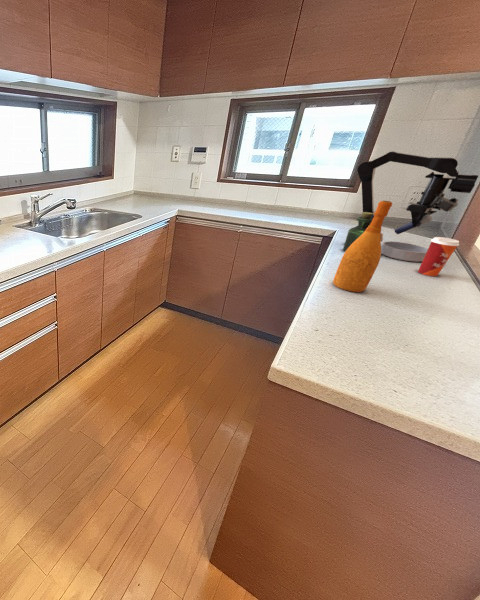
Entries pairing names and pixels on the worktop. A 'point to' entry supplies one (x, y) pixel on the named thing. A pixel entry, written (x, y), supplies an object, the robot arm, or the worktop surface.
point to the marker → (410, 226)
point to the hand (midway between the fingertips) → (415, 226)
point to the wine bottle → (362, 254)
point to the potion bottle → (357, 229)
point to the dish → (403, 251)
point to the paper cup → (437, 255)
